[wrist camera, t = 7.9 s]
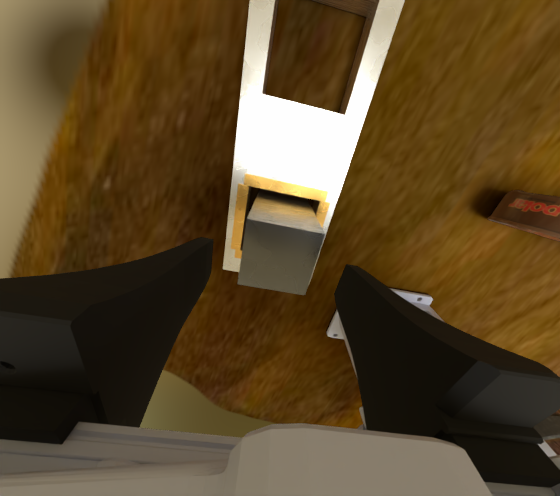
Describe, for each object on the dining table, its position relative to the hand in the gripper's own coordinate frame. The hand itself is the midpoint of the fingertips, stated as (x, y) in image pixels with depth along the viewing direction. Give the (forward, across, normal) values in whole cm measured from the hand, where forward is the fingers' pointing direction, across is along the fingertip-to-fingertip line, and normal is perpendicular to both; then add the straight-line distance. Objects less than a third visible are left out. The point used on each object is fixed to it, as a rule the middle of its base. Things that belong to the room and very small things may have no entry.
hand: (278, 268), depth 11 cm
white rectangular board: (+8, 0, -6) cm, 10 cm away
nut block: (+8, 0, 0) cm, 8 cm away
